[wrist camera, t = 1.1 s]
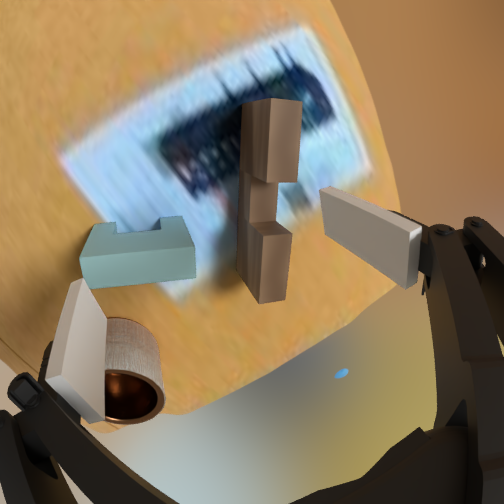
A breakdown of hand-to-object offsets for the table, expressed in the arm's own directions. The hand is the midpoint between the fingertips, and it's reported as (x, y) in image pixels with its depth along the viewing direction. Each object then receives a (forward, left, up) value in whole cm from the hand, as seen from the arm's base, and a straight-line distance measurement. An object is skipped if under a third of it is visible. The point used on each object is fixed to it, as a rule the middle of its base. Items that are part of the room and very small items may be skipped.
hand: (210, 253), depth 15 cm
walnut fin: (+9, -1, -19) cm, 21 cm away
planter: (-9, -21, -19) cm, 30 cm away
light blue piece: (-4, -5, -19) cm, 20 cm away
